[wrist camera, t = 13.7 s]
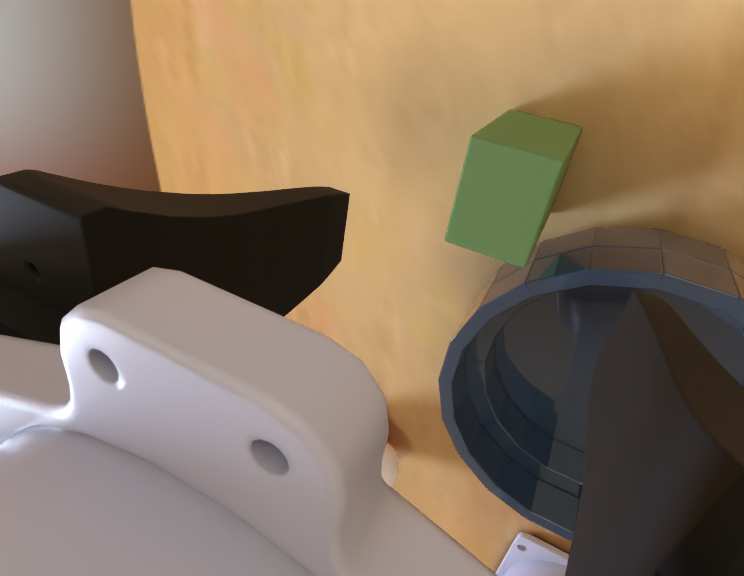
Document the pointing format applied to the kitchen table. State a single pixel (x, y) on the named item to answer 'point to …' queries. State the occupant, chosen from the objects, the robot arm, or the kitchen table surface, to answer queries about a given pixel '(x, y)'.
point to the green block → (510, 185)
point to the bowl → (570, 354)
